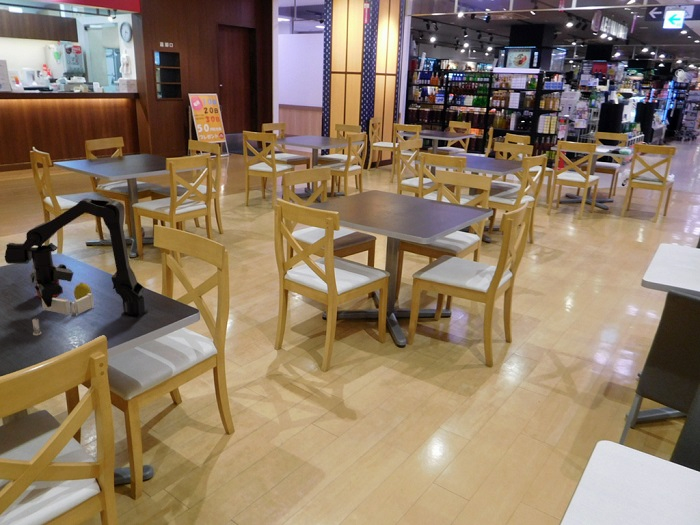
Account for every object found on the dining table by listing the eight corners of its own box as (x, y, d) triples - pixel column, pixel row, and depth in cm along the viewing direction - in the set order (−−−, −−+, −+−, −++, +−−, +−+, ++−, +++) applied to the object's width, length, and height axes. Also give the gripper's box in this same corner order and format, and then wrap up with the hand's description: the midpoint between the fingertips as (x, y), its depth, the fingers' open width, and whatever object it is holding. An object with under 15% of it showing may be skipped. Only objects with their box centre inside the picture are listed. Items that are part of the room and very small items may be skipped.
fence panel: (94, 307, 194) (92, 294, 193) (79, 314, 188) (77, 300, 186) (90, 306, 195) (88, 293, 193) (75, 314, 188) (73, 300, 187)
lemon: (72, 304, 196) (69, 283, 194) (85, 299, 201) (83, 279, 198) (82, 307, 194) (79, 286, 191) (95, 302, 198) (93, 282, 196)
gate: (70, 313, 188) (68, 300, 186) (67, 314, 186) (65, 301, 185) (46, 308, 191) (44, 295, 189) (42, 309, 189) (41, 296, 188)
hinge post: (77, 315, 187) (75, 302, 186) (73, 317, 186) (72, 303, 184) (73, 314, 188) (72, 301, 186) (70, 316, 186) (68, 303, 185)
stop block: (67, 307, 193) (66, 299, 192) (60, 310, 191) (59, 302, 190) (60, 305, 194) (59, 298, 193) (54, 308, 192) (53, 301, 191)
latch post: (43, 333, 174) (41, 318, 172) (37, 336, 172) (35, 321, 170) (37, 331, 175) (35, 317, 173) (31, 334, 172) (29, 320, 171)
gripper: (76, 266, 179) (82, 310, 184) (62, 252, 193) (67, 293, 198) (39, 272, 172) (45, 318, 177) (26, 257, 186) (32, 300, 191)
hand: (49, 306), depth 186 cm, fingers closed
